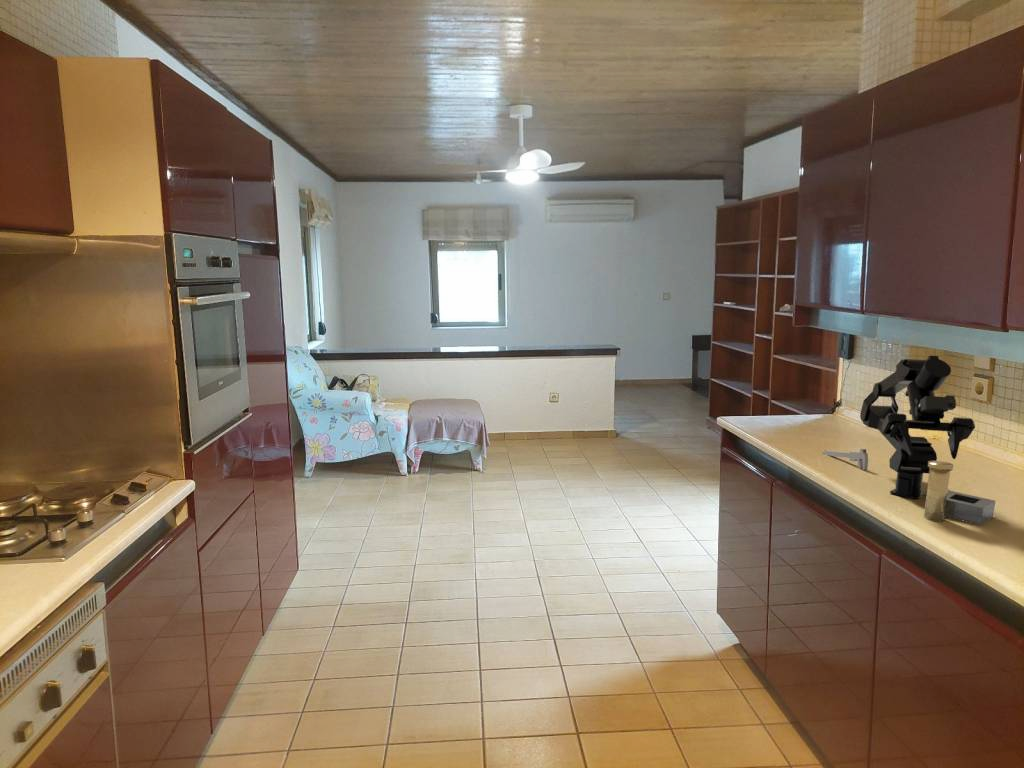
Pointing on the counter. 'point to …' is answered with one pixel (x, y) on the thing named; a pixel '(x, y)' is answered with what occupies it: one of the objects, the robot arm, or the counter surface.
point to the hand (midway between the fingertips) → (933, 456)
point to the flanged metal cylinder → (937, 489)
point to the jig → (969, 507)
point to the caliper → (852, 457)
